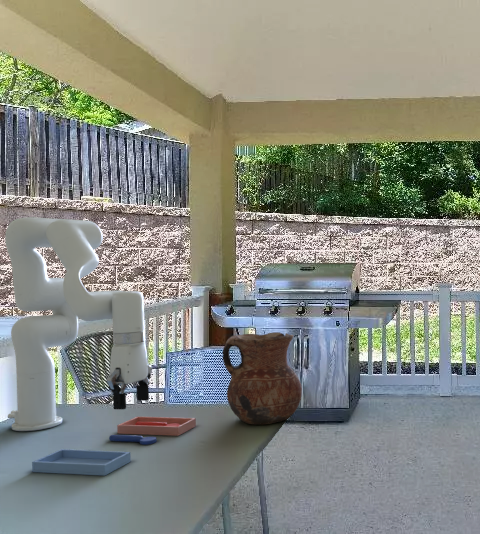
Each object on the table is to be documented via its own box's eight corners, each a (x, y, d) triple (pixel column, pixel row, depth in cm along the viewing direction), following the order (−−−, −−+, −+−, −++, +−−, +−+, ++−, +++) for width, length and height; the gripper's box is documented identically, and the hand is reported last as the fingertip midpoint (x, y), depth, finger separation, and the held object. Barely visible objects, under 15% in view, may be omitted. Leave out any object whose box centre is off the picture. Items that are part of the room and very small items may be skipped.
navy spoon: (104, 443, 157) (104, 437, 157) (114, 438, 161) (114, 432, 161) (150, 445, 154) (150, 438, 154) (159, 440, 158) (159, 434, 158)
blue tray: (32, 472, 136) (31, 461, 136) (62, 458, 145) (61, 448, 145) (104, 475, 133) (104, 465, 133) (130, 461, 142) (130, 451, 142)
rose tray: (117, 433, 165) (117, 425, 165) (137, 424, 174) (137, 416, 174) (178, 435, 162) (178, 427, 162) (196, 426, 171) (195, 418, 171)
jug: (277, 406, 193) (276, 328, 192) (317, 417, 178) (315, 332, 177) (213, 420, 177) (211, 335, 177) (250, 434, 162) (248, 341, 162)
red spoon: (131, 429, 168) (131, 423, 167) (140, 425, 171) (139, 419, 171) (174, 430, 165) (174, 425, 165) (182, 426, 169) (182, 421, 169)
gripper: (136, 334, 166) (138, 397, 166) (93, 343, 149) (96, 412, 149) (161, 334, 165) (163, 397, 165) (121, 343, 148) (124, 413, 148)
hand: (131, 404), depth 157 cm, fingers open, 9 cm apart
